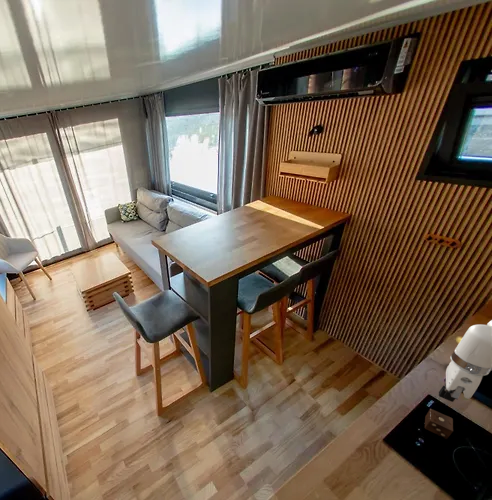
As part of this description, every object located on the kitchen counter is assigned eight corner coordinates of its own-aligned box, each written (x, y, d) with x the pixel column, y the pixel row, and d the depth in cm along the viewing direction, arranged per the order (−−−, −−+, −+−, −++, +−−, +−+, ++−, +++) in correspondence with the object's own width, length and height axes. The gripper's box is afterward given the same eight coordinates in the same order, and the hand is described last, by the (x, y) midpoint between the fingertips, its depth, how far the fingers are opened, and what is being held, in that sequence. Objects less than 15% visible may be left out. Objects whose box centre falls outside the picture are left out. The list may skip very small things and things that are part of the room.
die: (446, 426, 85) (452, 418, 83) (446, 439, 82) (453, 431, 80) (425, 416, 89) (430, 408, 86) (424, 428, 86) (430, 420, 83)
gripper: (494, 387, 69) (464, 423, 77) (488, 351, 77) (461, 387, 86) (452, 371, 74) (428, 407, 82) (451, 339, 82) (429, 374, 91)
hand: (445, 397), depth 84 cm, fingers closed
